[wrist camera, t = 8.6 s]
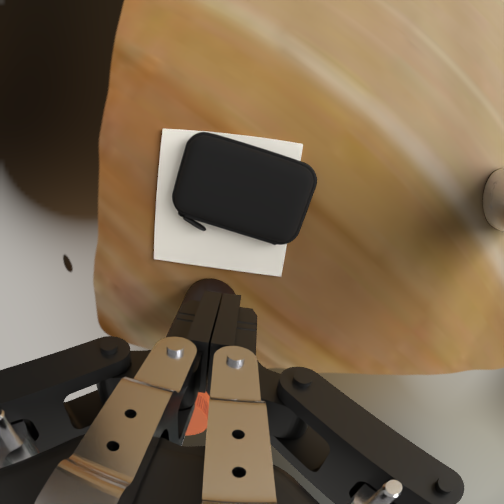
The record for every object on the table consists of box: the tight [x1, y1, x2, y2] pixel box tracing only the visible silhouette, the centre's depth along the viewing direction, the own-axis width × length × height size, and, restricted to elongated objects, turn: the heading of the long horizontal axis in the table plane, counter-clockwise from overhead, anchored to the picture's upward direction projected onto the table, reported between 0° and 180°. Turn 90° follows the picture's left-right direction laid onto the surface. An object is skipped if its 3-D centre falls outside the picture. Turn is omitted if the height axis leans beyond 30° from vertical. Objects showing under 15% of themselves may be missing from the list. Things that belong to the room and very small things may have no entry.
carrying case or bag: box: [172, 132, 317, 245], centre depth 33 cm, size 11×3×15 cm
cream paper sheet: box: [154, 129, 303, 277], centre depth 35 cm, size 16×16×1 cm
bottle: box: [166, 279, 235, 435], centre depth 30 cm, size 7×7×20 cm
